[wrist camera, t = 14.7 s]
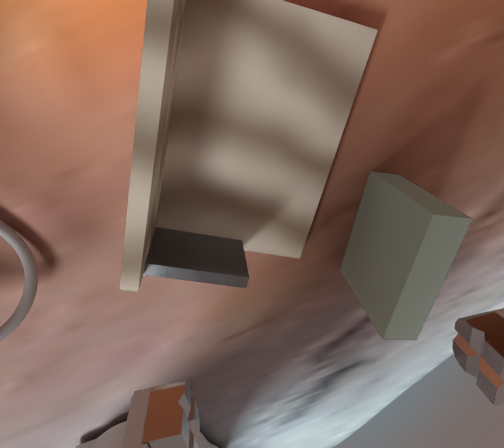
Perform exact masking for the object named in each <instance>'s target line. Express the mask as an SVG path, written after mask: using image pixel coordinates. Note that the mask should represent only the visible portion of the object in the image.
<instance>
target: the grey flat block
mask: <svg viewBox="0 0 504 448" xmlns="http://www.w3.org/2000/svg"><path fill="white" fill-rule="evenodd" d="M471 221H472V218H471V217H469V216H467V215H466V214H464V213H462V212H461V211H459V210H457V209H456V208H454V207H452V206H451V205H449V204H447V203H446V202H444V201H442V200H441V199H439V198H437V197H436V196H434V195H432V194H431V193H429V192H427V191H426V190H424V189H422V188H421V187H419V186H417V185H416V184H414V183H412V182H411V181H409V180H407V179H406V178H404V177H402V176H401V175H398V174H390V173H381V172H373V171H370V173H369V177H368V180H367V183H366V186H365V190H364V193H363V196H362V199H361V203H360V206H359V209H358V212H357V216H356V219H355V222H354V225H353V229H352V232H351V235H350V238H349V242H348V245H347V248H346V251H345V255H344V258H343V261H342V264H341V268H340V272H341V273H342V275H343V277H344V278H345V280H346V281H347V283H348V285H349V286H350V288H351V289H352V291H353V293H354V294H355V296H356V297H357V299H358V301H359V302H360V304H361V305H362V307H363V309H364V310H365V312H366V313H367V315H368V317H369V318H370V320H371V321H372V323H373V325H374V326H375V328H376V330H377V331H378V333H379V334H380V336H381V338H382V339H391V340H417V338H418V335H419V333H420V331H421V329H422V327H423V325H424V322H425V320H426V318H427V316H428V314H429V312H430V310H431V307H432V305H433V303H434V301H435V299H436V297H437V295H438V292H439V290H440V288H441V286H442V284H443V282H444V279H445V277H446V275H447V273H448V271H449V269H450V267H451V264H452V262H453V260H454V258H455V256H456V254H457V252H458V249H459V247H460V245H461V243H462V241H463V239H464V236H465V234H466V232H467V230H468V228H469V226H470V224H471Z"/></svg>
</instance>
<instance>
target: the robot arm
mask: <svg viewBox="0 0 504 448" xmlns="http://www.w3.org/2000/svg"><path fill="white" fill-rule="evenodd" d="M455 330H456V331H457V332H458V334H457V336H456V337H455V338H454V339H453V351H454V354H455V358H456V359H457V361H458V363H459V365H460V366H461V367H462V368H463V369H464V371H465V372H467V373H469V374H471V375H473V376H475V377H476V385H477V386H478V387H479V388H480V390H481V391H482V392H483V393H484V394H485V396H486V397H487V398H488V399H489V400H490V401H491V403H492V404H493V405H498V404H503V403H504V308H503V309H498V310H494V311H491V312H484V313H480V314H476V315H472V316H468V317H463V318H459V319H458V320H457V321H456V323H455ZM76 448H219V447H217V446H215V445H213V444H211V443H209V442H208V441H207V440H206V438H205V437H204V436H203V434H202V433H201V432H200V420H199V411H198V407H197V403H196V400H195V398H193V397H191V387H190V384H189V382H188V381H182V382H177V383H172V384H166V385H161V386H156V387H152V388H147V389H143V390H138V391H135V392H134V394H133V396H132V399H131V404H130V408H129V413H128V417H127V421H125V422H122V423H120V424H117V425H115V426H113V427H112V428H110V429H108V430H107V431H106V432H104V433H103V434H102V435H101V436H99V437H98V438H96V439H94V440H91V441H88V442H85V443H83V444H80V445H78V446H77V447H76Z"/></svg>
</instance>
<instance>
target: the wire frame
mask: <svg viewBox="0 0 504 448" xmlns="http://www.w3.org/2000/svg"><path fill="white" fill-rule="evenodd" d="M0 236H2V237H3V238H4V239H5V240H6V241H7V242H8V243H9V244H10V245H11V246H12V247H13V248H14V249H15V251H16V252H17V254H18V256H19V258H20V260H21V262H22V265H23V268H24V274H25V286H24V291H23V295H22V298H21V301H20V303H19V305H18V307H17V308H16V310H15V312H14V313H13V314H12V316H11V317H10V318H9V319H8V320H7V321H6V322H5V323H4V324H3V325H2V326H1V327H0V341H2V340H3V339H4V338H6V337H7V336H8V335H9V334H10V333H12V332H13V331H14V330H15V329H16V328H17V327H18V325H19V324H20V323H21V322H22V321H23V319H24V318H25V316H26V315H27V313H28V312H29V310H30V308H31V306H32V304H33V301H34V298H35V295H36V291H37V284H38V273H37V267H36V263H35V260H34V257H33V255H32V253H31V251H30V249H29V247H28V246H27V244H26V243H25V241H24V240H23V239H22V238H21V237H20V236H19V235H18V234H17V233H16V232H15V231H14V230H13V229H11V228H10V227H9V226H7V225H6V224H4V223H3V222H1V221H0Z"/></svg>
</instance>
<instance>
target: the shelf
mask: <svg viewBox="0 0 504 448" xmlns="http://www.w3.org/2000/svg"><path fill="white" fill-rule="evenodd" d="M377 31H378V30H376V29H373V28H370V27H367V26H363V25H360V24H357V23H354V22H351V21H347V20H344V19H341V18H338V17H335V16H331V15H328V14H325V13H322V12H319V11H315V10H312V9H309V8H306V7H303V6H299V5H296V4H293V3H290V2H287V1H283V0H147V11H146V21H145V31H144V42H143V52H142V63H141V73H140V84H139V94H138V104H137V115H136V125H135V136H134V146H133V157H132V167H131V177H130V188H129V198H128V209H127V219H126V229H125V240H124V250H123V261H122V271H121V282H120V289H122V290H131V291H138V290H139V287H140V284H141V280H142V277H143V275H149V276H156V277H164V278H172V279H180V280H187V281H195V282H203V283H211V284H219V285H226V286H234V287H242V288H246V287H247V283H248V280H249V274H248V269H247V264H246V258H245V253H244V250H245V251H252V252H259V253H265V254H272V255H278V256H285V257H292V258H298V259H300V256H301V253H302V250H303V248H304V245H305V242H306V239H307V236H308V233H309V230H310V227H311V224H312V221H313V218H314V215H315V212H316V210H317V207H318V204H319V201H320V198H321V195H322V192H323V189H324V186H325V183H326V180H327V177H328V174H329V171H330V169H331V166H332V163H333V160H334V157H335V154H336V151H337V148H338V145H339V142H340V139H341V136H342V133H343V130H344V128H345V125H346V122H347V119H348V116H349V113H350V110H351V107H352V104H353V101H354V98H355V95H356V92H357V89H358V87H359V84H360V81H361V78H362V75H363V72H364V69H365V66H366V63H367V60H368V57H369V54H370V51H371V48H372V46H373V43H374V40H375V37H376V34H377Z"/></svg>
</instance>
